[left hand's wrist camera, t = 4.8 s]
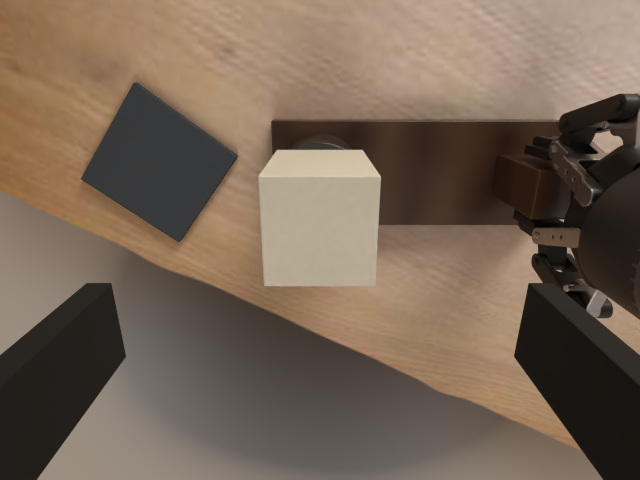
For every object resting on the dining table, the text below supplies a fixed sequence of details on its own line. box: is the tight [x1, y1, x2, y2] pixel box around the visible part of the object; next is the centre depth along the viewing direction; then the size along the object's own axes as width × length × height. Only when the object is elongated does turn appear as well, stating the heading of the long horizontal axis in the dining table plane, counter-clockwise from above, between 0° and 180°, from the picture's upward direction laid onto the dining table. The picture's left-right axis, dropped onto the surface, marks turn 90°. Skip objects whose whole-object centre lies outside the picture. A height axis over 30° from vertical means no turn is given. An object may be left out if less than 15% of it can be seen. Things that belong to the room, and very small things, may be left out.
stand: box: [271, 120, 571, 225], centre depth 32 cm, size 24×9×8 cm, turn 90°
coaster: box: [81, 83, 238, 242], centre depth 36 cm, size 10×10×1 cm
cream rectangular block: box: [258, 150, 381, 286], centre depth 25 cm, size 6×6×9 cm
